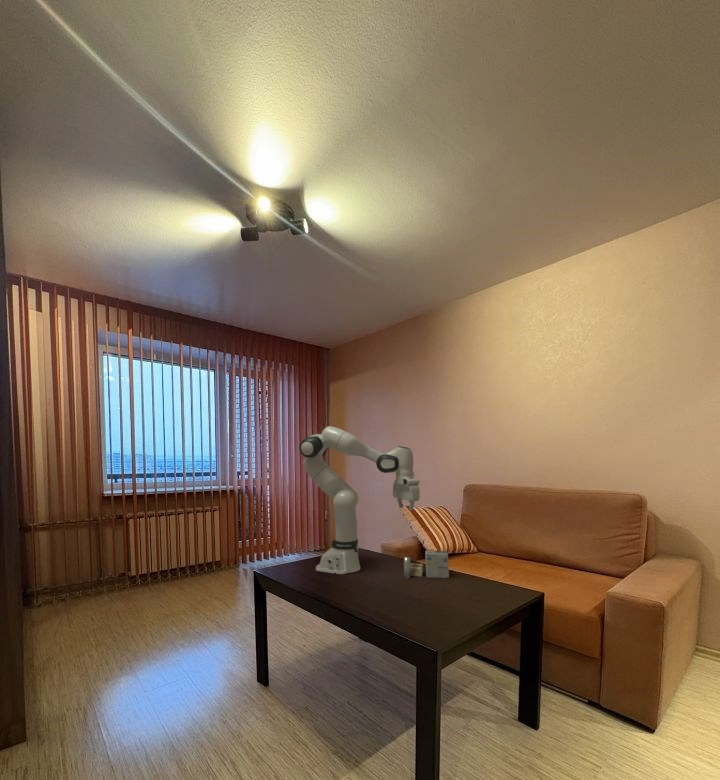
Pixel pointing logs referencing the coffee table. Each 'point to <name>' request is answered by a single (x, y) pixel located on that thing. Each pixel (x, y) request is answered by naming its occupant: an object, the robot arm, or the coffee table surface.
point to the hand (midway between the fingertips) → (405, 508)
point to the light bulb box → (437, 564)
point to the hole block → (416, 569)
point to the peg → (407, 567)
